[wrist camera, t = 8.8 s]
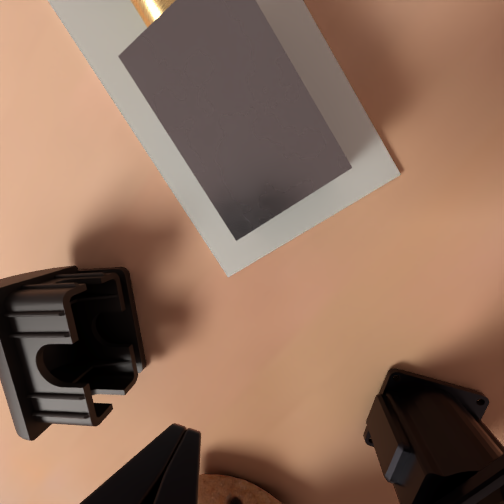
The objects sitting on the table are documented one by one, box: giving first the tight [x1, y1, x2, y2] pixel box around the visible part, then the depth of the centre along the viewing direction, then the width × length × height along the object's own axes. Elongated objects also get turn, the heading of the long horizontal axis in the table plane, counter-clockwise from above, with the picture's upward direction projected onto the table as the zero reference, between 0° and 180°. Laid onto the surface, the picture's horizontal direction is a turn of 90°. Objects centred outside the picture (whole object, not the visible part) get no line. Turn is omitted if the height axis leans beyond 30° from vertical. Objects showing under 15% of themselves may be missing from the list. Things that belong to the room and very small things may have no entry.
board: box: [48, 0, 401, 277], centre depth 16 cm, size 30×13×1 cm, turn 33°
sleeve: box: [118, 0, 352, 241], centre depth 14 cm, size 10×6×5 cm, turn 33°
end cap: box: [0, 266, 146, 441], centre depth 18 cm, size 10×7×7 cm
